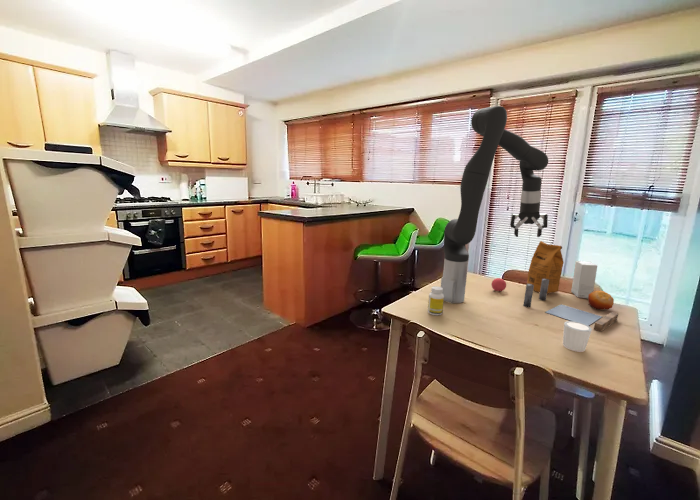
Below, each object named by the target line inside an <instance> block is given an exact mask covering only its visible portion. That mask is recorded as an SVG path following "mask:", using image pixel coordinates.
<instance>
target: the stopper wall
mask: <svg viewBox="0 0 700 500" xmlns="http://www.w3.org/2000/svg"><path fill="white" fill-rule="evenodd" d="M618 317H619V314H618V313H616V312H613V311H611V312H609V313H608V314H606V315H604V316H602V318H600V319H599V320H597V321H596V322H594V326H593V331H597V332H602V331H604V330H605V329H607V328H608V327H609V325H610V326H611V325H612V324H614V323H615V322H617V321H618ZM616 320H617V321H616ZM613 322H614V323H613Z"/></svg>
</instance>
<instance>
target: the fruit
mask: <svg viewBox="0 0 700 500" xmlns="http://www.w3.org/2000/svg"><path fill="white" fill-rule="evenodd" d="M587 300H588V306H590V307H591V308H594V310H597V311H599V310H600V311H604V310H610V309H612V308H613V306H614V301H615V300H614V297H613V296H612V295H611V294H610V293H608V292H606V291H604V290H594V291H593V292H592V293H590V294H589V296H588V298H587Z"/></svg>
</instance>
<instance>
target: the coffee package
mask: <svg viewBox="0 0 700 500" xmlns="http://www.w3.org/2000/svg"><path fill="white" fill-rule="evenodd" d="M562 250H563V246H561V245H555V244H548V243H546V242H544V241H542V240H540V241H539V243H538V245H537V246H536V249H535V251H534V253H533V255H532V257H531V259H530V265H529V268H528V272H527V282H526V284H533V285H534V289H533V292H536V293H539V294H540V288H541V282H542V278H546V279H549V285H548V291H547V295H549V294H551V293H557V292H559V287H560V281H561V277H562V272H563V267H564V258H563V254H562Z"/></svg>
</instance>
